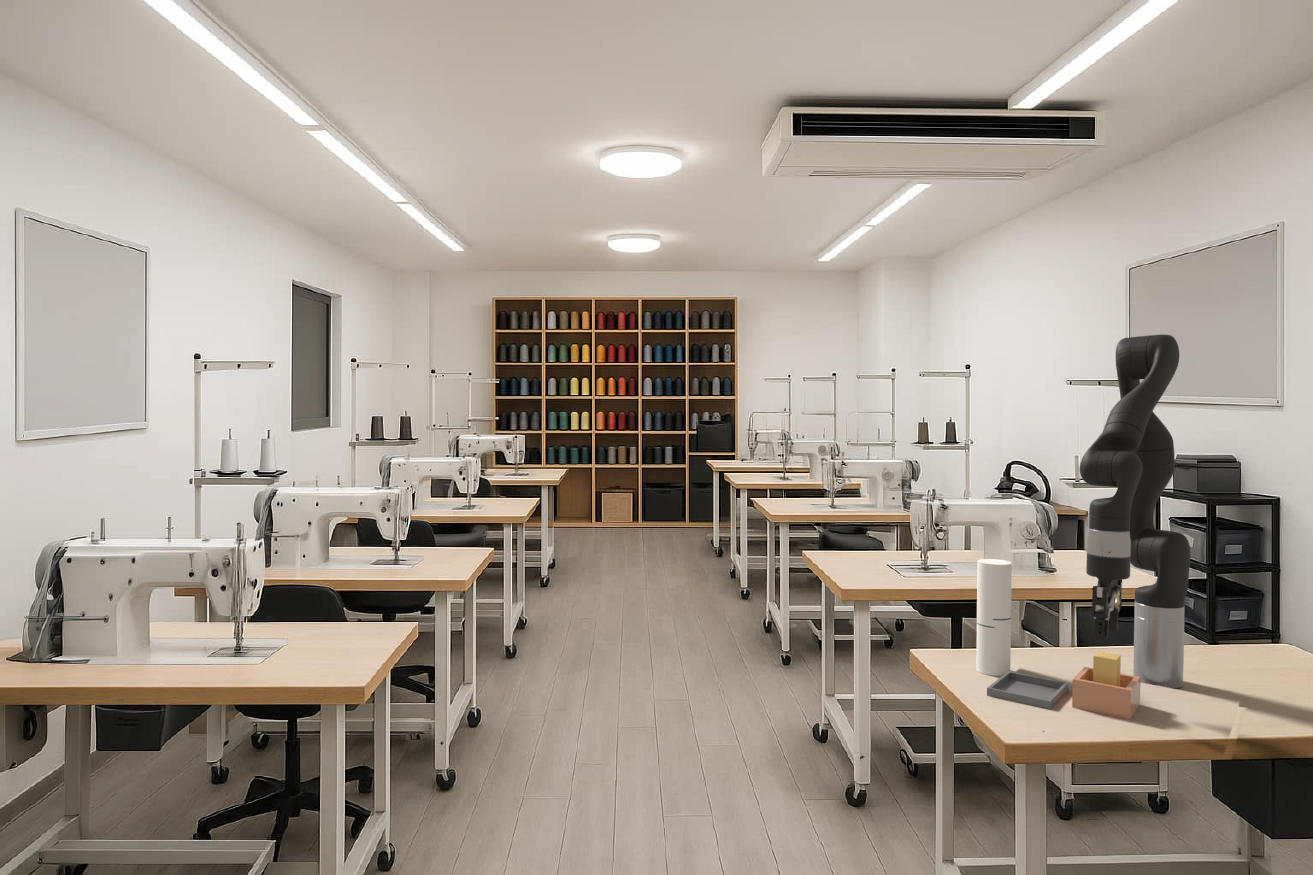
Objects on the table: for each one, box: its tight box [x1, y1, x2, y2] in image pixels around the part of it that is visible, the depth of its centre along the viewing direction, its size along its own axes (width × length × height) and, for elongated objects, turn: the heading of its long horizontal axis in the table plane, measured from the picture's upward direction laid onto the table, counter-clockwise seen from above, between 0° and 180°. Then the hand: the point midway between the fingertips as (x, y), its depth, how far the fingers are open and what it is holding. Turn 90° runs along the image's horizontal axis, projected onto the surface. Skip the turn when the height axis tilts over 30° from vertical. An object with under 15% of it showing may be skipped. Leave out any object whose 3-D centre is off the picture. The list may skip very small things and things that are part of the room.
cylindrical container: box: [975, 558, 1013, 677], centre depth 183 cm, size 7×7×25 cm
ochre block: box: [1092, 651, 1122, 687], centre depth 159 cm, size 4×4×10 cm
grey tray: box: [986, 670, 1069, 710], centre depth 166 cm, size 14×12×2 cm
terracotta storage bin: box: [1071, 666, 1142, 720], centre depth 159 cm, size 10×10×6 cm
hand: (1106, 634), depth 159 cm, fingers open, 8 cm apart
